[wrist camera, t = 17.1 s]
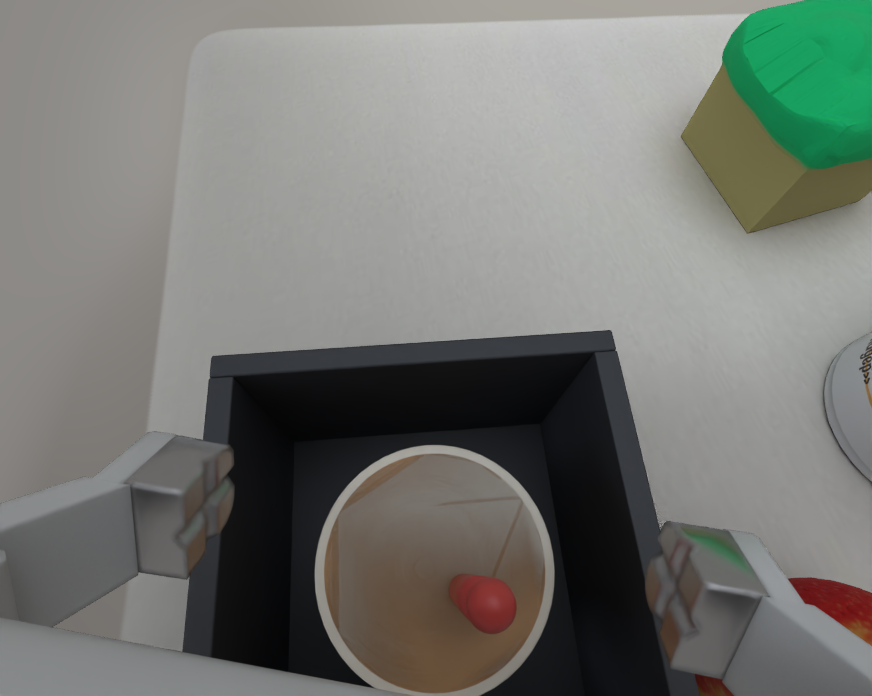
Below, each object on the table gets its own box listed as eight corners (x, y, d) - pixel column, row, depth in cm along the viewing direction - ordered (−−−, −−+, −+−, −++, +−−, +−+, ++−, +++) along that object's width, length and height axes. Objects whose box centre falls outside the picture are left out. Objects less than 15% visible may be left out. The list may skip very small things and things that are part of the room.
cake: (653, 133, 35) (734, -24, 26) (788, 99, 37) (909, -60, 28) (730, 250, 31) (856, 115, 22) (877, 207, 33) (1050, 64, 24)
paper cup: (327, 574, 23) (143, 586, 8) (423, 462, 25) (422, 301, 10) (439, 685, 22) (475, 960, 6) (531, 556, 23) (727, 535, 8)
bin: (282, 431, 26) (210, 354, 17) (549, 412, 27) (612, 328, 18) (270, 765, 21) (156, 903, 12) (604, 729, 22) (733, 834, 13)
